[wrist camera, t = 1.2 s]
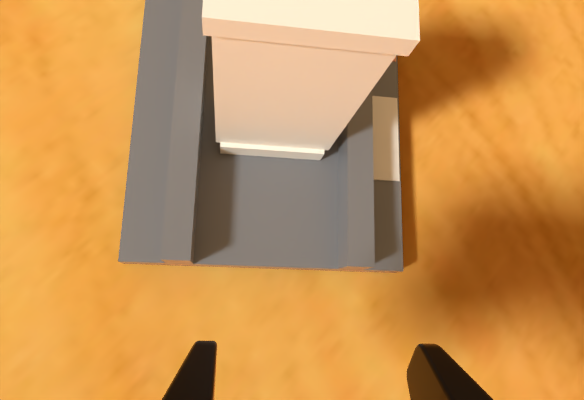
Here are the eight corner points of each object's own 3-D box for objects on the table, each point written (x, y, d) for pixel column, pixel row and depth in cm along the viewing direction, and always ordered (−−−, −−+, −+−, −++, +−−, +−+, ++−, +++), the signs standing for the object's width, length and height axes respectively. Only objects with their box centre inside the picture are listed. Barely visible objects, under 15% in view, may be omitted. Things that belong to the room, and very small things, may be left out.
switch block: (394, 272, 23) (419, 268, 20) (123, 263, 21) (108, 257, 18) (387, -9, 26) (407, -47, 24) (154, -37, 25) (145, -82, 22)
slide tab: (328, 160, 22) (420, 40, 12) (211, 152, 22) (201, 17, 11) (328, 107, 23) (416, -52, 13) (215, 97, 22) (208, -81, 12)
